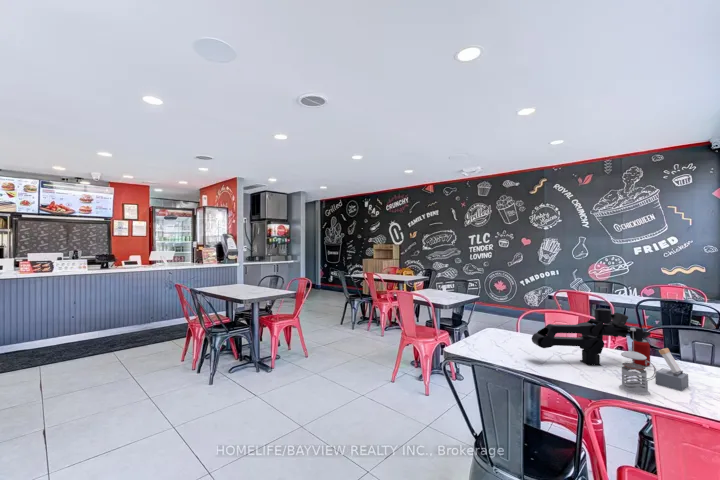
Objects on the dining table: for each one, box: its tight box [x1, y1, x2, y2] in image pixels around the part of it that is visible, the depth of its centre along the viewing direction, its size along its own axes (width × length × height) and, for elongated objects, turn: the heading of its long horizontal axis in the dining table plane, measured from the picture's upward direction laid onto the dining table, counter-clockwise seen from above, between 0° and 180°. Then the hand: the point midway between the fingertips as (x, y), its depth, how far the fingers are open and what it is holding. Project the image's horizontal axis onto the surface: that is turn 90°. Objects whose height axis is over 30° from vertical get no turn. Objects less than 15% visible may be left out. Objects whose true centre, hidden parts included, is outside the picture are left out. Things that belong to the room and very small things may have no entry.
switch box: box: [654, 367, 690, 392], centre depth 134 cm, size 8×9×6 cm
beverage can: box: [631, 339, 651, 367], centre depth 159 cm, size 7×7×12 cm
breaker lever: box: [658, 347, 683, 374], centre depth 134 cm, size 2×5×10 cm, turn 123°
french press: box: [618, 328, 657, 396], centre depth 129 cm, size 10×12×25 cm
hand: (642, 331), depth 159 cm, fingers open, 9 cm apart
